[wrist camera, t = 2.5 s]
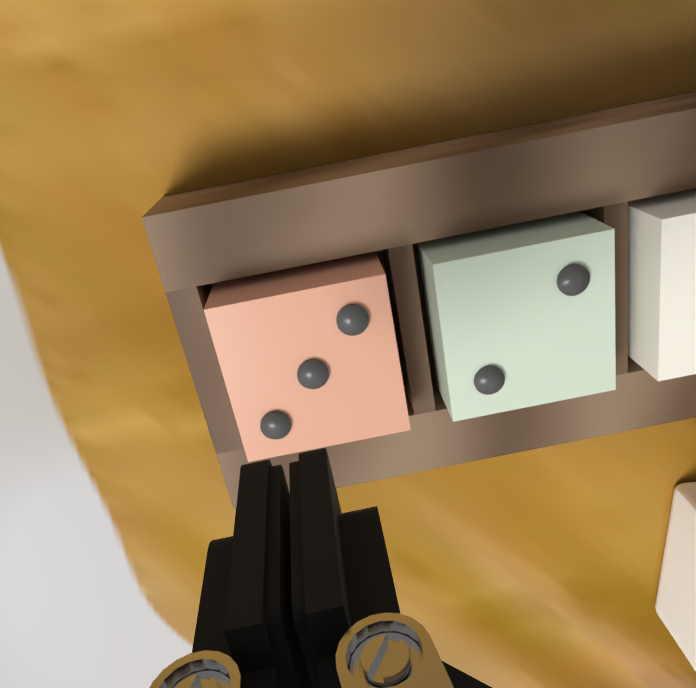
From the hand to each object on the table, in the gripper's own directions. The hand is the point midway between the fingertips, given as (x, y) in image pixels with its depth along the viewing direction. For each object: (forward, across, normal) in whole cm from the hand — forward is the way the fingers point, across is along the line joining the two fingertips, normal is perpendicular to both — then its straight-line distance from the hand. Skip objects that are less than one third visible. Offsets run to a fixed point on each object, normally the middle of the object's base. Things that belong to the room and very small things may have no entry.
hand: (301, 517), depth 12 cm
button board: (+10, -7, 0) cm, 13 cm away
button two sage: (+9, -7, 0) cm, 11 cm away
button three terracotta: (+9, -1, 0) cm, 9 cm away
